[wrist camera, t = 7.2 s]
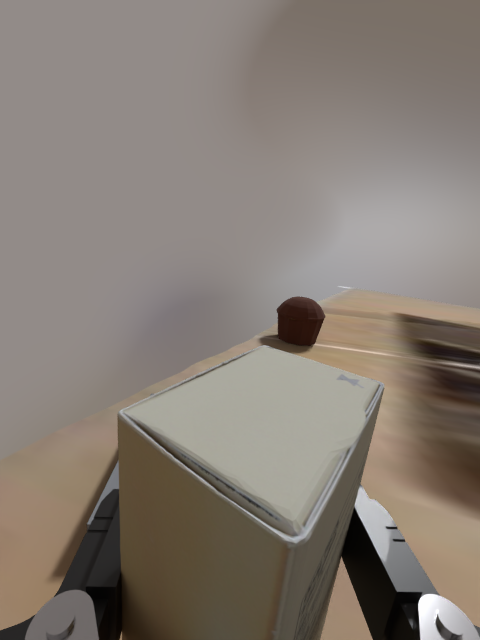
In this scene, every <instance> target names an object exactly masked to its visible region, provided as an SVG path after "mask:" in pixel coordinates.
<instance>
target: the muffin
mask: <svg viewBox="0 0 480 640" xmlns="http://www.w3.org/2000/svg"><path fill="white" fill-rule="evenodd" d="M277 313H278V336H279V339H281V340H283V341H285V342H287V343H291V344H295V345H308V346H310V345H312V344H315V342H316V339H317V336H318V334H319V331H320V328H321V326H322V323H323V320H324V318H325V315H324V312H323V310H322V308H321V307H320V306H319V304H317V303H316V302H315V301H314V300H312V299H309V298H305V297H292V298H290V299H288V300H286V301H285V302H283V303H282V304H281V305H280V306H279V307H278V308H277Z"/></svg>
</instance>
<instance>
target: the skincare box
mask: <svg viewBox="0 0 480 640" xmlns="http://www.w3.org/2000/svg"><path fill="white" fill-rule="evenodd" d="M383 391H384V384H383V383H381V382H379V381H376V380H373V379H369V378H366V377H362V376H359V375H356V374H353V373H350V372H347V371H344V370H341V369H338V368H334V367H331V366H328V365H325V364H322V363H319V362H316V361H313V360H310V359H307V358H304V357H300V356H297V355H295V354H292V353H288V352H285V351H281V350H278V349H275V348H272V347H269V346H265V345H263V346H260V347H258V348H255V349H252V350H250V351H248V352H245V353H242V354H241V355H238V356H236V357H234V358H231V359H229V360H227V361H224V362H222V363H220V364H218V365H216V366H213V367H211V368H209V369H207V370H205V371H203V372H200V373H198V374H196V375H194V376H192V377H189V378H188V379H185V380H183V381H181V382H179V383H177V384H174V385H172V386H170V387H168V388H166V389H164V390H162V391H160V392H158V393H156V394H154V395H152V396H150V397H148V398H146V399H143V400H141V401H139V402H137V403H135V404H133V405H131V406H129V407H126V408H124V409H122V410H120V411H119V412H118V453H119V508H120V553H121V585H122V590H121V597H122V640H320V638H321V634H322V630H323V626H324V623H325V618H326V614H327V610H328V606H329V602H330V598H331V594H332V591H333V587H334V583H335V579H336V575H337V571H338V568H339V564H340V559H341V555H342V552H343V548H344V544H345V540H346V536H347V532H348V528H349V524H350V521H351V517H352V513H353V509H354V505H355V502H356V498H357V494H358V490H359V487H360V482H361V478H362V474H363V470H364V466H365V462H366V459H367V455H368V451H369V447H370V443H371V439H372V435H373V431H374V427H375V423H376V419H377V415H378V411H379V407H380V403H381V399H382V395H383Z"/></svg>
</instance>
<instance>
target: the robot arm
mask: <svg viewBox="0 0 480 640" xmlns="http://www.w3.org/2000/svg"><path fill="white" fill-rule="evenodd" d="M341 556H342V559H343V562H344V564H345V567H346V569H347V572H348V575H349V577H350V580H351V583H352V585H353V588H354V591H355V593H356V596H357V599H358V601H359V604H360V607H361V609H362V612H363V615H364V617H365V620H366V622H367V625H368V628H369V630H370V633H371V636H372V638H373V640H480V628H479V627H477V626H475V625H473V624H472V623H471V621H470V620H469V619H468V617H467V616H466V615H465V614H464V613H463V612H462V611H461V610H460V609H459V608H458V607H457V606H456V605H454V604H453V603H452V602H450V601H449V600H447V599H445V598H443V597H441V596H440V595H439V594H438V592H437V591H436V589H435V588H434V586H433V584H432V583H431V581H430V579H429V578H428V576H427V575H426V573H425V571H424V570H423V568H422V566H421V565H420V563H419V562H418V560H417V558H416V557H415V555H414V553H413V552H412V550H411V549H410V547H409V545H408V544H407V543H406V542H405V539H404V537H403V536H402V534H401V532H400V531H399V530H398V529H397V526H396V524H395V523H394V521H393V519H392V518H391V516H390V514H389V513H388V512H387V511H386V510H385V509H384V508H383V507H382V506H381V505H380V504H379V503H378V502H377V501H376V500H373V499H369V497H368V496H367V494H366V492H365V490H364V489H363V487H362V486H361V484H360V487H359V490H358V494H357V498H356V502H355V505H354V509H353V513H352V517H351V521H350V524H349V528H348V532H347V536H346V540H345V544H344V548H343V552H342V555H341ZM121 590H122V585H121V553H120V508H119V489H113V490H112V491H111V492H110V493H109V494H108V495H107V496H106V497H105V498H104V499H103V500H102V501H101V503H100V505H99V507H98V509H97V511H96V513H95V516H94V519H93V520H92V522H91V524H90V526H89V528H88V531H87V533H86V534H85V536H84V539H83V541H82V543H81V545H80V547H79V549H78V551H77V553H76V555H75V557H74V559H73V562H72V564H71V566H70V568H69V570H68V572H67V574H66V576H65V578H64V580H63V582H62V585H61V586H60V588H59V590H58V592H57V593H56V595H55V596H54V597H53V598H52V599H51V600H49V601H48V602H47V603H46V604H45V605H44V606H43V607H42V608H41V609H40V610H39V611H38V612H37V614H36V615H34V616H33V617H31V618H30V619H28V620H26V621H24V622H22V623H20V624H17V625H15V626H12V627H9V628H6V629H3V630H1V631H0V640H119V639H120V635H121V632H122V597H121Z"/></svg>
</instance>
